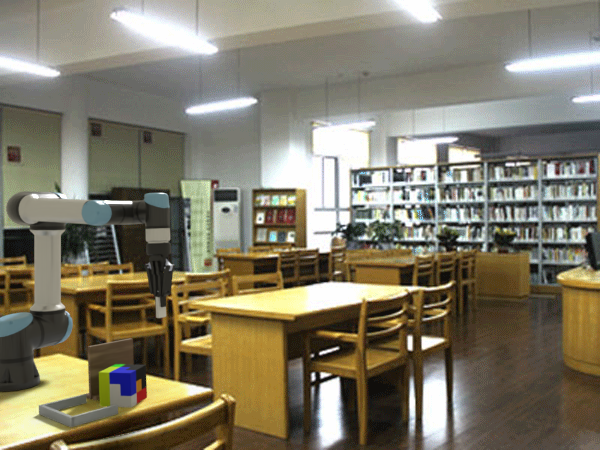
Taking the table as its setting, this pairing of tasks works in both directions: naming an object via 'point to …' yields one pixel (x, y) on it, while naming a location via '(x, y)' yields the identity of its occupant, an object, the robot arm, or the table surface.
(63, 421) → the corral
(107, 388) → the puzzle toy
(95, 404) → the table surface
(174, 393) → the table surface
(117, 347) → the screen
